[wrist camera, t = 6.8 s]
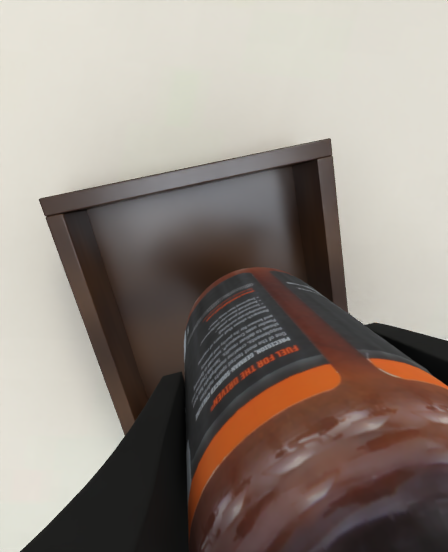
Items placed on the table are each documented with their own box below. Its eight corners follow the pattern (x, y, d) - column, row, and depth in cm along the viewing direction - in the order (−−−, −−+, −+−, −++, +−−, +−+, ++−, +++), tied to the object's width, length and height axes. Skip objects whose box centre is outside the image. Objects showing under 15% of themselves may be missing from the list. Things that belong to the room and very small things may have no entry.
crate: (328, 373, 22) (357, 410, 19) (145, 421, 22) (137, 470, 18) (300, 149, 18) (331, 137, 14) (70, 197, 17) (37, 198, 13)
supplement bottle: (162, 367, 13) (60, 1193, 2) (217, 240, 12) (521, 661, 1) (283, 405, 14) (584, 1044, 4) (342, 293, 13) (1046, 727, 2)
